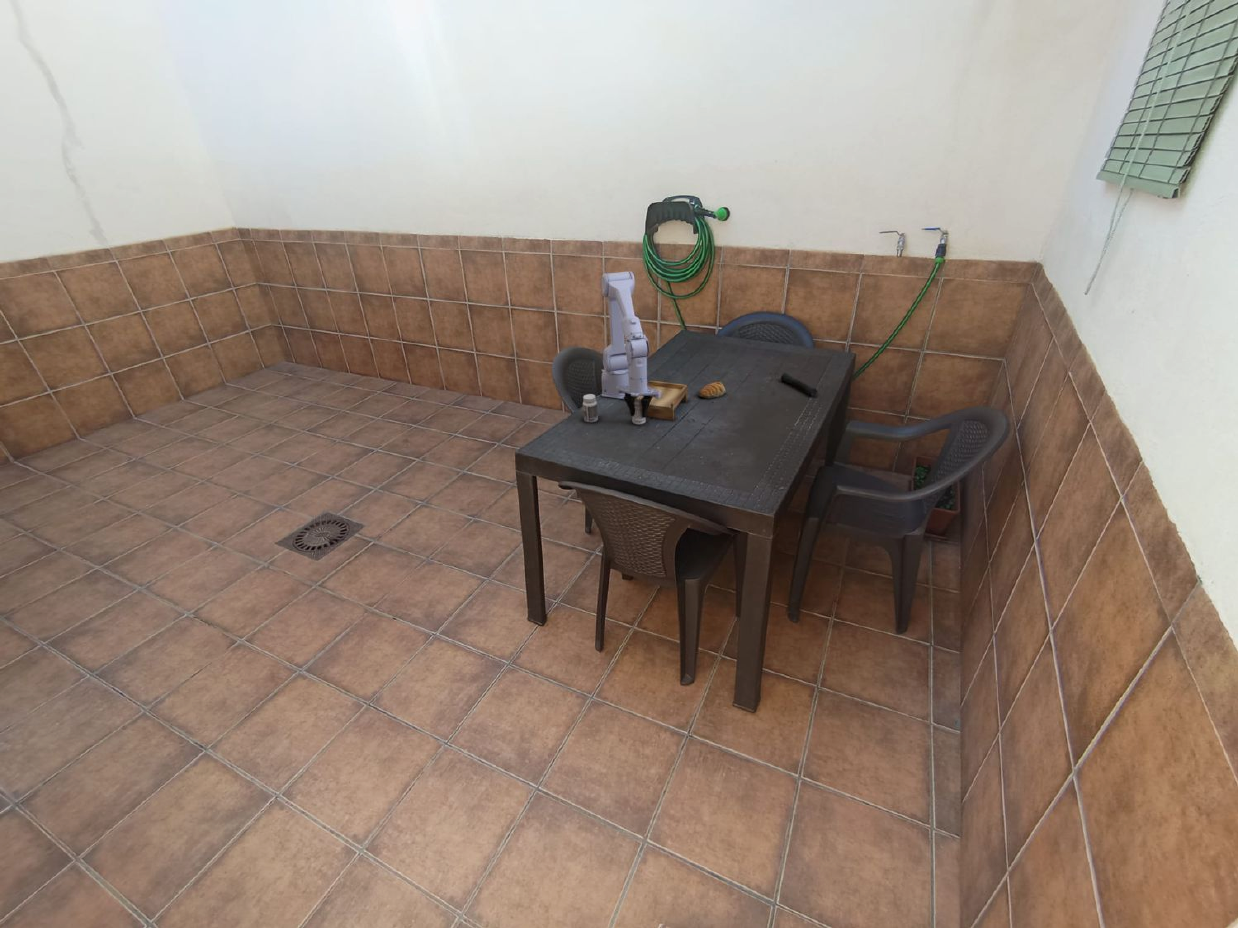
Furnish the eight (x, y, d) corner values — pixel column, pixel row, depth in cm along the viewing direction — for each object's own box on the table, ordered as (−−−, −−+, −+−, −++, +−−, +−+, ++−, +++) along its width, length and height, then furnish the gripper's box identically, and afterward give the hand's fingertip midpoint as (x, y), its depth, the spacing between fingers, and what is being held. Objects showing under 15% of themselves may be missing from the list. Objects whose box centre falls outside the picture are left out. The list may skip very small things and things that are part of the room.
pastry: (708, 401, 195) (708, 391, 193) (694, 395, 200) (694, 386, 198) (726, 393, 200) (727, 383, 198) (712, 388, 205) (713, 378, 203)
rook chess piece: (647, 420, 184) (647, 398, 180) (642, 426, 181) (642, 403, 177) (635, 418, 186) (634, 396, 182) (630, 423, 183) (629, 401, 179)
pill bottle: (600, 417, 188) (598, 394, 184) (595, 423, 184) (593, 400, 180) (587, 415, 189) (585, 392, 185) (581, 421, 186) (579, 398, 181)
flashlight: (787, 379, 209) (788, 372, 207) (817, 395, 196) (818, 387, 194) (780, 381, 208) (781, 373, 206) (810, 397, 195) (811, 389, 193)
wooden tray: (633, 414, 189) (632, 398, 186) (649, 395, 201) (649, 380, 198) (672, 420, 184) (673, 403, 181) (687, 400, 196) (687, 385, 193)
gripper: (611, 378, 175) (613, 417, 182) (655, 384, 170) (655, 424, 177) (620, 370, 180) (621, 408, 187) (663, 375, 175) (663, 414, 182)
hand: (638, 415), depth 182 cm, fingers closed on rook chess piece, 3 cm apart
